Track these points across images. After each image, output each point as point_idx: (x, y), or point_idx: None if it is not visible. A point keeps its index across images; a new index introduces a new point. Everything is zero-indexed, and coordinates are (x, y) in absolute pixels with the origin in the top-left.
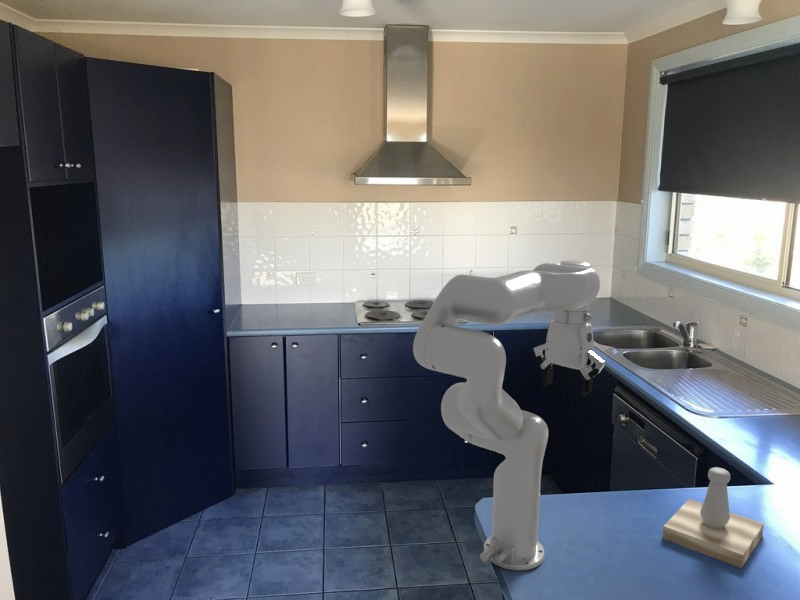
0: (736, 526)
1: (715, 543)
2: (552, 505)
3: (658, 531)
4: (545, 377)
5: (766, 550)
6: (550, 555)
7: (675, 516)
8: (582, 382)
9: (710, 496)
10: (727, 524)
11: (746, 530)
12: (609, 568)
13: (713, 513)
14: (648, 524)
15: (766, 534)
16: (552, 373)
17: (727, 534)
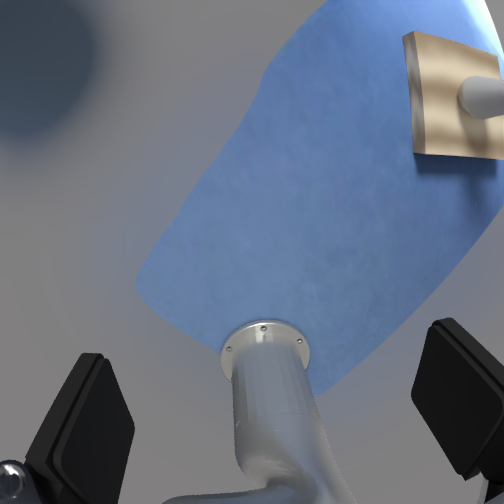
0: None
1: (482, 153)
2: (218, 192)
3: (401, 135)
4: (117, 477)
5: None
6: (307, 323)
7: (426, 108)
8: (455, 463)
9: (502, 110)
10: None
11: None
12: (383, 286)
13: (490, 117)
14: (382, 123)
15: (485, 51)
16: (79, 423)
17: None
